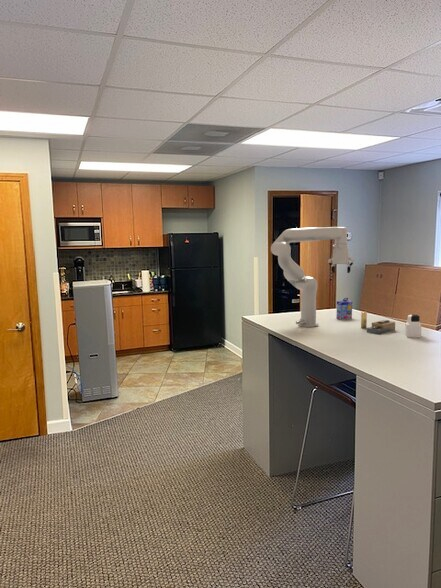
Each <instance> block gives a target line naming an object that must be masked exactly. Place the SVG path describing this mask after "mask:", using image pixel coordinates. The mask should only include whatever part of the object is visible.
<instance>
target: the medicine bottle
mask: <svg viewBox="0 0 441 588" xmlns="http://www.w3.org/2000/svg"><path fill="white" fill-rule="evenodd" d="M404 331H405V336H406V337H407V338H419V339H421V338H422V324H421V323H420V316H419V314H409V315H407V321H406V322H405V329H404Z"/></svg>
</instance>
